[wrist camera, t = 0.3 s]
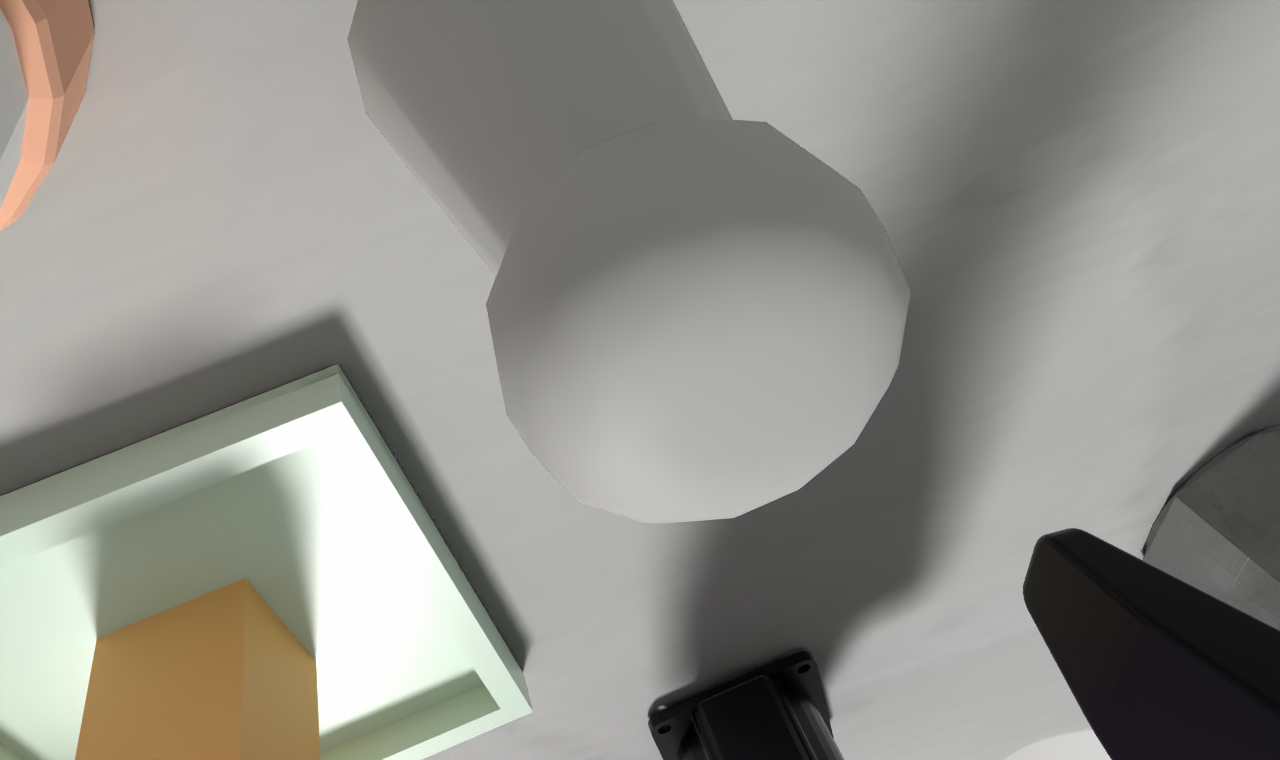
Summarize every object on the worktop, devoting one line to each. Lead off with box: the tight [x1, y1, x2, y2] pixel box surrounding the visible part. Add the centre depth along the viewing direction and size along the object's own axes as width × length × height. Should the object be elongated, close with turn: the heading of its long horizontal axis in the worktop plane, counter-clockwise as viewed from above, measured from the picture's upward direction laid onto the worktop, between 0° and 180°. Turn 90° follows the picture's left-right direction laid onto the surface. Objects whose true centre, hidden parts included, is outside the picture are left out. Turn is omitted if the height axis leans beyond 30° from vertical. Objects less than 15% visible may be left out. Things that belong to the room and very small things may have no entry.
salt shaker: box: [348, 0, 911, 523], centre depth 14 cm, size 6×6×13 cm
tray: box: [0, 364, 533, 760], centre depth 26 cm, size 14×14×2 cm
